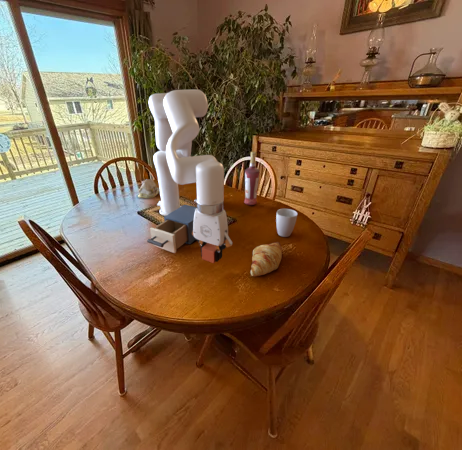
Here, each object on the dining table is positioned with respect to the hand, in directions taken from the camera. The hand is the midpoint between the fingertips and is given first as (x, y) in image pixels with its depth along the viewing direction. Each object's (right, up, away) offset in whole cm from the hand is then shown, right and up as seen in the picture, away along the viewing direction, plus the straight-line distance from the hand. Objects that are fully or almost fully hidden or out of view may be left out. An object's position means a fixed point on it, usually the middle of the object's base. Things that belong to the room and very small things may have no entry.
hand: (211, 256), depth 77 cm
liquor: (+23, +22, +54) cm, 62 cm away
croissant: (+20, -3, +8) cm, 21 cm away
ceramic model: (-37, +29, +73) cm, 87 cm away
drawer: (-16, +3, +20) cm, 25 cm away
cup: (+32, +6, +25) cm, 41 cm away
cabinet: (-10, +7, +29) cm, 31 cm away
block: (0, 0, 0) cm, 0 cm away
